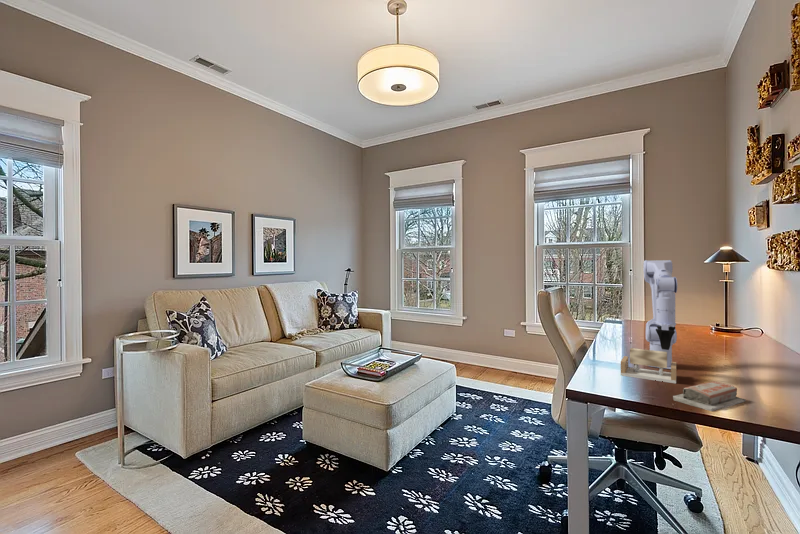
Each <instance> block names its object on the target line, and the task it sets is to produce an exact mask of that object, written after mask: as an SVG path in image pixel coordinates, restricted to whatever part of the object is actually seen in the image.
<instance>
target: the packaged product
mask: <svg viewBox="0 0 800 534" xmlns="http://www.w3.org/2000/svg"><path fill="white" fill-rule="evenodd" d="M737 392H738V388H737V387H735V386H734V385H732V384H728V383H723V382H719V381H716V380H715V381H709V382H703V383H699V384H694V385H691V386H686V387H683V389H682V393H681V394H676V395H672V399H673V401H675V402H678V403H682V404H685V405H688V406H691V407H695V408H699V409H703V410H706V411H708V412H716V411H718V410H720V409H725V408H728V407H732V406H735V405H738V404H741V403H742V404H743V403H745V402H747V400H746V398H742V397H739V396H738V395H737V394H738V393H737Z"/></svg>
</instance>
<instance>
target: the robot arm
mask: <svg viewBox="0 0 800 534" xmlns="http://www.w3.org/2000/svg"><path fill="white" fill-rule="evenodd" d="M673 267H674V266H673V261H672V260H671V259H668V260H666V259H663V260H662V259H661V260H660V259H659V260H656V259H655V260H647V259H644V261H643V265H642V268H643V269H642V270H643V279H644V282H645V283H648V284H649V286H650V290H651V305H652V307H651V308H652V318H651V319H650V320H648V321H647V322H646V323H645V340H646V342H649V350H654V351H663V352H667V368H665V369H666V370H667V369H668V370H671V362H673V356H672V355H673V346H674V345H675V343H677V341H678V340H677V339H678V336H677V334H678V333H677V329H676V326H677V323H676V294H677V292H678V285H679V284H678V279H677V277H676V276H673ZM649 367H652V368H656V367H655V366H649ZM657 368H658V369H659V367H657Z"/></svg>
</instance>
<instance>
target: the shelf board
mask: <svg viewBox="0 0 800 534" xmlns="http://www.w3.org/2000/svg"><path fill="white" fill-rule="evenodd" d="M629 364H632V365H634V364H638V366H639V365H641V366H647V367H650V366H655V367H654V368H658V367H662V368H663V369H666V368H667V352H663V351H654V350H650V349H642V348H634V347H633V348H632V347H630V349H629Z"/></svg>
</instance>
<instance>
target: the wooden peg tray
mask: <svg viewBox="0 0 800 534" xmlns="http://www.w3.org/2000/svg"><path fill="white" fill-rule="evenodd" d="M621 375H622V377H629V378H635V379H643V380H649V381H655V380H656V381H657V382H662V381H663V383H670V384H677V362H676V361H672V362H671V369H670V371H664V368H662V367H659V368H658V370H653V369H646V368H640V367H639V364H633V366H629V356H628V355H624V356H623V357H622V359H621V360H620V376H621Z"/></svg>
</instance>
